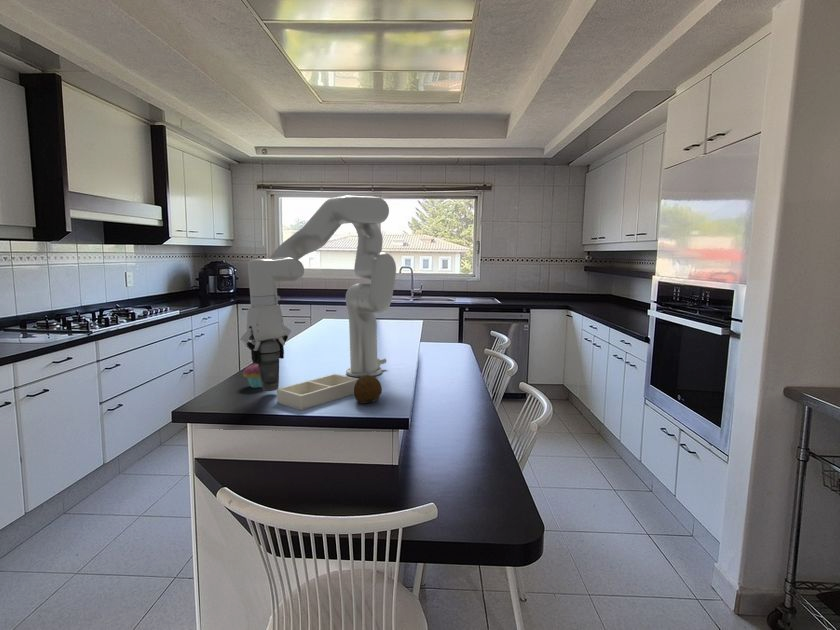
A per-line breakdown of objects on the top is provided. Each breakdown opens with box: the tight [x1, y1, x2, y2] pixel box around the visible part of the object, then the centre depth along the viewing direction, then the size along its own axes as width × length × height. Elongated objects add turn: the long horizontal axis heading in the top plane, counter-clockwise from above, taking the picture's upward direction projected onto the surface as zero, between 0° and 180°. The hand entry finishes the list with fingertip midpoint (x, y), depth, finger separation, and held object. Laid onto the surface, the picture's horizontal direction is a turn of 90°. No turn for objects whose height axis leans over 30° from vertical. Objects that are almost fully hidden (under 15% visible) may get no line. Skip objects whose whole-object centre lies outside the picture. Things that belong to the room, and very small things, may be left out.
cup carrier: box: [276, 373, 359, 411], centre depth 139 cm, size 22×11×4 cm, turn 141°
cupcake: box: [242, 363, 262, 389], centre depth 152 cm, size 9×8×12 cm
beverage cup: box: [258, 339, 281, 392], centre depth 141 cm, size 7×7×20 cm
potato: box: [353, 375, 383, 404], centre depth 134 cm, size 8×12×8 cm, turn 19°
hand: (268, 360), depth 141 cm, fingers closed on beverage cup, 7 cm apart
